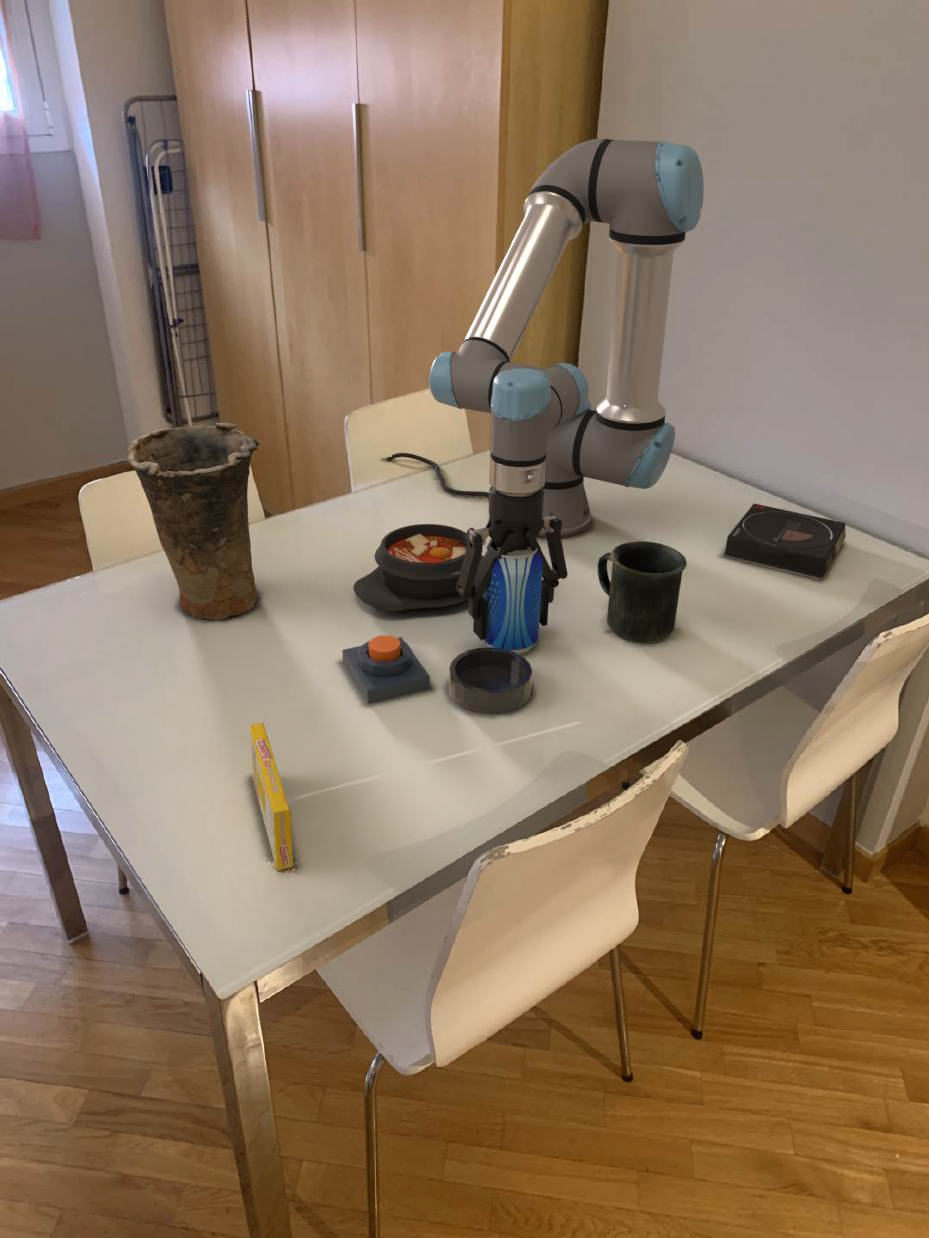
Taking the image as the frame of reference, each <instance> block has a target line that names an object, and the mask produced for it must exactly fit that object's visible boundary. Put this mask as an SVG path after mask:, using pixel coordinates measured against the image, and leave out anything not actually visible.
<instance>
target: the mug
mask: <svg viewBox="0 0 929 1238" xmlns="http://www.w3.org/2000/svg"><path fill="white" fill-rule="evenodd" d="M608 561H610V562H612V566H611V574H610V575H611V576H609V571H608ZM687 563H688V562H687V559H686V557H685V556H684V555H683V553H681V552H680V551H679V550H677V549H676V548H674V547H672V546H669V545H665V544H663V543H660V542H653V541H646V540H645V541H643V540H641V541H640V540H638V541H627V542H624V543H621V544H619V545H617V546H615V547H613V549H612V550H611V551H610V552H606V553H604V554H602V555H601V556H600V557H599V558H598V562H597V576H598V582H599V585H600V586H601V589H602V591H603V592H604V593H605V594H606V596H608V605H607V613H606V623H607V625H608V627H609V628H610V630H611V631H612V633H614V634H615V635H617V636H619V637H620V638H622V639H625V640H628V641H632V642H636V643H644V644H645V643H657V642H661V641H664V640H666V639H667V638H669V637H670V636H671V635H672V634H673V633H674V630H675V626H676V619H677V613H678V604H679V599H680V591H681V584H682V577H683V571H685V569H686V567H687Z"/></svg>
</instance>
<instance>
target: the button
mask: <svg viewBox="0 0 929 1238" xmlns="http://www.w3.org/2000/svg"><path fill="white" fill-rule="evenodd" d="M397 638H398V637H396V636H393V635H389V634H388V635H387V634H386V635H385V634H383V635H377V636H375V637H372V638H371V639H370V640H368V641H369V656H370V658H371V659H373V660H375V661H382V662H388V661H393V660H396V659H397V658H399V657H400V655H401V644H400V641H399V639H397Z"/></svg>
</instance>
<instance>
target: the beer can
mask: <svg viewBox="0 0 929 1238" xmlns="http://www.w3.org/2000/svg"><path fill="white" fill-rule="evenodd" d="M497 549H498V550H499V549H500V548H499V547H498V546H497ZM501 557H502V558H501V559H497V561H496V563H495V564H494V566H493V568H492V571H491V581H490V583H489V585H488V587H487V589H486V591H485V593H484V594H483V596H484V597H485V598H486V600H487V614H486V639H484V640H483V641H484V643H485V644H486V646H487V648H488V647H494V648H502V649H506V650H510V651H513V652H515V653H517V654H519V655H523V654H525V653H528V652H529V651H531V650H532V648H533V647H534V645H535V644H537V642H538V640H539V637H540V623H539V622H540V605H541V589H542V580H543V577H542V572H543V560H542V558H541V556H540V555H539V553H538V552H537V548H536V549H535V551H533V550H532V549H531V548H530V547H527V549H526V550H516V551H513V552H510V553H509V552H508V553H507V555H506V556H505V555H501Z"/></svg>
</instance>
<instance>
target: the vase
mask: <svg viewBox="0 0 929 1238" xmlns="http://www.w3.org/2000/svg"><path fill="white" fill-rule="evenodd" d="M259 445H260V442H259V440H258V439H256V438H253V437H250V436H248V435H246V433H245V432H244V431H242V430H240V429H239V428H238V424H237V423H230V422H224V423H223V422H216V423H215V425H207V424H203V425H202V424H201V425H187V426H182V427H177V426H176V427H174V428H166V427H164V428H161V429H159V430H155V431H152V432H149V433H145V434H143V435H141V436H140V437H137V438H135V439H134V440H133V441H132V442H131V445H129V447H128V449H127V452H128V464H129V465H131V467H132V468H133V469H134V471H135V473H136V475H137V478H138V479H139V481H140V485H141V488H142V490H143V492H144V494H145V497H146V499H147V502H148V505H149V508H150V511H151V515H152V519H153V523H154V527H155V529H156V533H157V537H158V539H159V542H160V545H161V548H162V550H163V551H164V553H165V556H166V558H167V561H168V563H169V565H170V569H171V570H172V573H173V575H174V578H175V581H176V584H177V586H178V593H179V605H180V608H181V609H182V610H183V611H184V612H185V613H186V614H187V615H190V616H192V617H193V618H196V617H197V618H198V619H202V620H203V619H205V620H207V621H209V620H211V621H222V620H223V621H224V620H225V619H229V618H230V617H231V616H232V617H234V616H236V617H237V616H242V615H243V614H245V613H246V612H249V611H251V609H253V608H254V607H255V605H256V603H257V602H258V591H257V588H256V587H257V586H256V583H255V581H256V580H255V575H254V569H253V565H252V564H253V561H252V560H253V557H252V544H251V535H250V526H249V525H250V523H249V522H250V521H249V502H248V501H249V500H248V488H249V478H250V477H249V476H250V472H251V471H250V467H251V460H252V455H253V453H254V452H255V451H257V450H258V447H259Z"/></svg>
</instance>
